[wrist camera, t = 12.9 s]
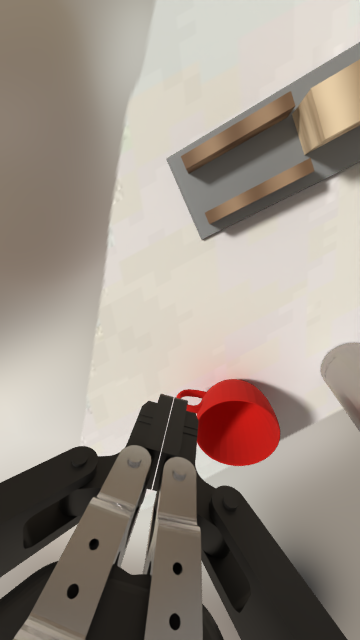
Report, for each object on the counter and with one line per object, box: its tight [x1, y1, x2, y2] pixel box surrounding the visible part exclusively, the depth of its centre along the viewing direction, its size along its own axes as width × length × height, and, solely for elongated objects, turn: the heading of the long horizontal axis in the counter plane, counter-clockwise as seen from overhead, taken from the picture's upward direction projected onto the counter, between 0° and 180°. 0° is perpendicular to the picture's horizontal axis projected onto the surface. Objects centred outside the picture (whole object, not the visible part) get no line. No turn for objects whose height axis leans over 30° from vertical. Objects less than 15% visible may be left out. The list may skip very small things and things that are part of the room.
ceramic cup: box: [176, 379, 280, 466], centre depth 45 cm, size 13×17×10 cm
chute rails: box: [181, 91, 314, 224], centre depth 34 cm, size 14×9×4 cm, turn 116°
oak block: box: [292, 59, 360, 155], centre depth 29 cm, size 10×5×7 cm, turn 116°
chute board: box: [167, 42, 360, 239], centre depth 35 cm, size 28×12×1 cm, turn 116°
